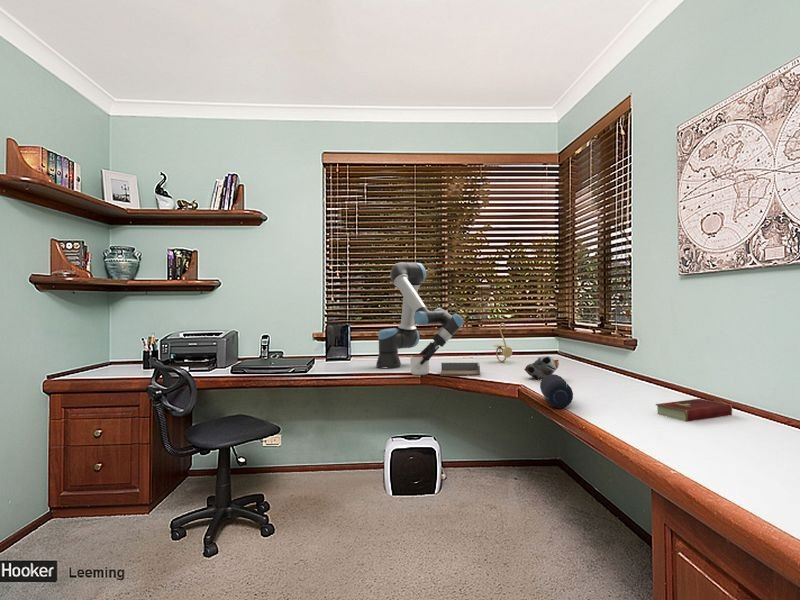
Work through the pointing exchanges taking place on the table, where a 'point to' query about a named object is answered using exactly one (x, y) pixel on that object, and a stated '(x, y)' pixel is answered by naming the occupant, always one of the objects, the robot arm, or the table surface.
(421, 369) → the cup
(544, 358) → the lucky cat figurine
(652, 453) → the table surface
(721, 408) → the hardcover book
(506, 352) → the wall sconce
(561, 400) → the portable speaker
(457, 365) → the pen walls
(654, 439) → the table surface
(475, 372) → the pen base
